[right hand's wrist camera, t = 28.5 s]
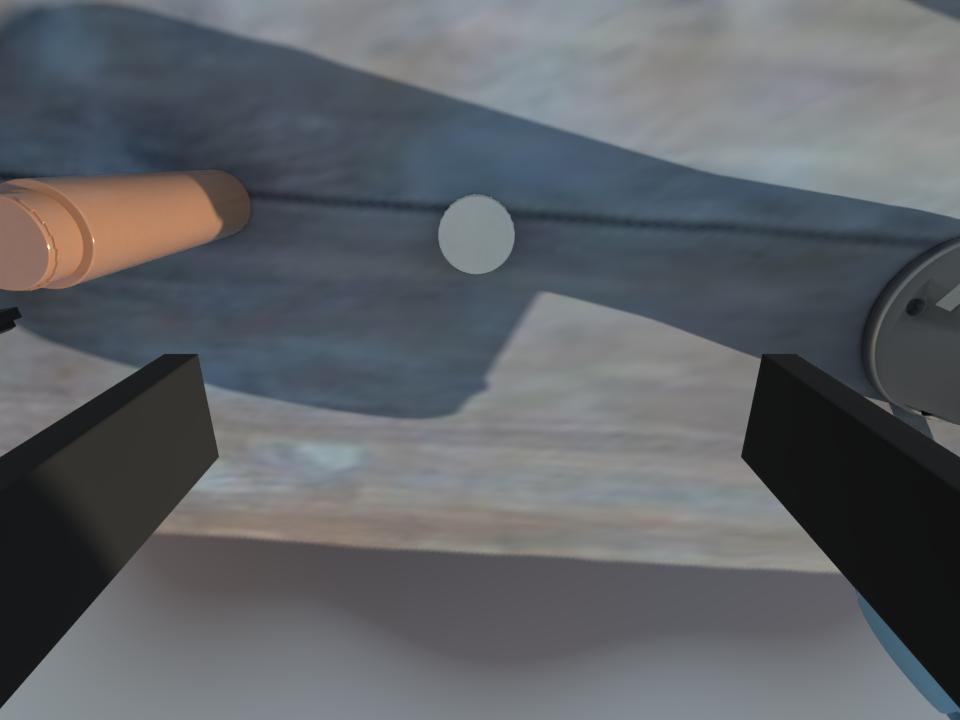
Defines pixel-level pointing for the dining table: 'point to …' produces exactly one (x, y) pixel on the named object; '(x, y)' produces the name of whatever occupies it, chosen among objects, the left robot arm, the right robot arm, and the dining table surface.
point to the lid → (476, 234)
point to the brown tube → (110, 222)
